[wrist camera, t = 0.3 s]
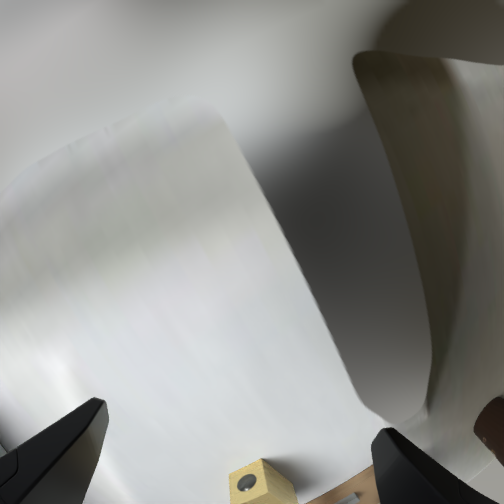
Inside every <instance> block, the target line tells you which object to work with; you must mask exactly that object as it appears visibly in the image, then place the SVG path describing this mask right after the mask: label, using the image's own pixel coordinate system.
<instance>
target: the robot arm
mask: <svg viewBox="0 0 504 504" xmlns="http://www.w3.org/2000/svg"><path fill="white" fill-rule="evenodd" d="M108 423H109V415H108V409H107V404H106V401H105V400H102V399H99V398H95V397H93V398H91V399H90V400H88V401H87V402H85V403H84V404H82V405H81V406H79V407H78V408H76V409H75V410H73V411H72V412H70V413H69V414H67V415H66V416H64V417H63V418H61V419H60V420H58V421H57V422H55V423H54V424H52V425H51V426H49V427H47V428H46V429H44V430H43V431H41V432H40V433H38V434H37V435H35V436H34V437H32V438H30V439H29V440H27V441H26V442H24V443H23V444H21V445H19V446H18V447H17V448H15V449H13V450H11V451H10V452H8V453H6V454H5V455H3V456H1V457H0V504H82V503H83V500H84V497H85V495H86V492H87V489H88V487H89V484H90V481H91V479H92V476H93V474H94V471H95V469H96V466H97V463H98V461H99V457H100V453H101V449H102V445H103V441H104V438H105V434H106V430H107V427H108ZM371 451H372V459H373V467H374V475H375V482H376V487H377V491H378V496H379V500H380V504H499V503H497V502H495V501H493V500H491V499H490V498H488V497H486V496H484V495H483V494H481V493H479V492H478V491H476V490H474V489H473V488H471V487H470V486H468V485H467V484H466V483H464V482H463V481H461V480H460V479H458V478H457V477H456V476H455V475H453V474H452V473H451V472H449V471H448V470H447V469H445V468H444V467H443V466H441V465H440V464H439V463H437V462H436V461H435V460H434V459H432V458H431V457H430V456H428V455H427V454H426V453H424V452H423V451H422V450H421V449H419V448H418V447H417V446H416V445H414V444H413V443H412V442H410V441H409V440H408V439H407V438H405V437H404V436H403V435H402V434H400V433H399V432H398V431H397V430H395V429H394V428H392V427H390V428H383V429H381V430H380V431H379V433H378V434H377V436H376V437H375V439H374V440H373V442H372V444H371Z"/></svg>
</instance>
